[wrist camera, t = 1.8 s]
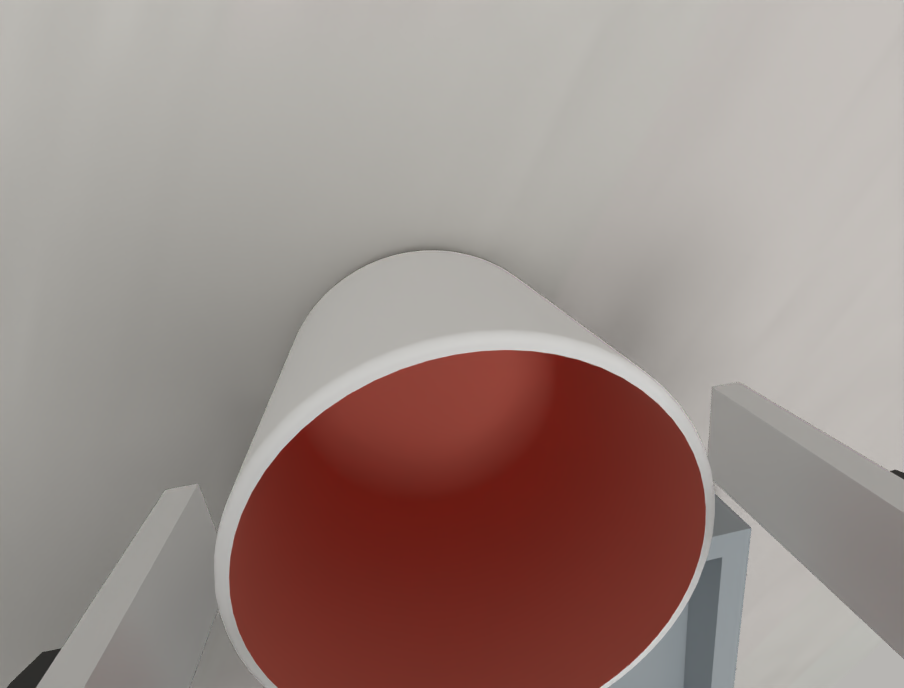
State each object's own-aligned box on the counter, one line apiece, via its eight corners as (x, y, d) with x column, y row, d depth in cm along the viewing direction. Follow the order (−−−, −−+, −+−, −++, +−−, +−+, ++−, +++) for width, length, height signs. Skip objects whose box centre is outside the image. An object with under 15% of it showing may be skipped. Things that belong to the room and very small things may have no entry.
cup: (536, 480, 21) (665, 719, 12) (297, 491, 20) (235, 779, 10) (567, 248, 18) (776, 334, 9) (284, 238, 16) (176, 330, 7)
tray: (418, 786, 27) (424, 857, 24) (362, 559, 21) (361, 619, 19) (689, 711, 29) (724, 770, 26) (704, 484, 23) (751, 527, 20)
